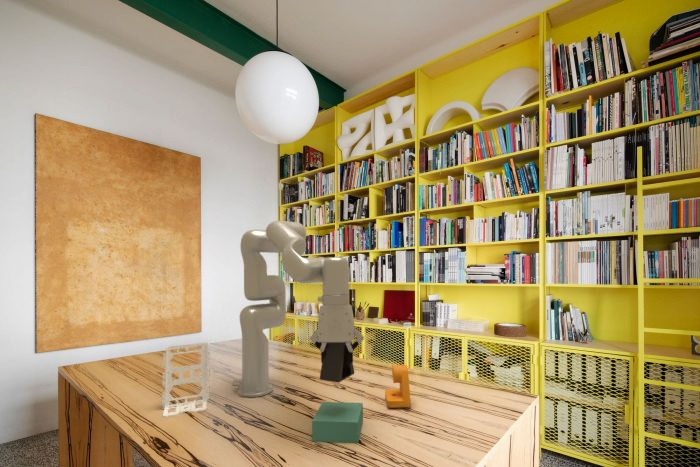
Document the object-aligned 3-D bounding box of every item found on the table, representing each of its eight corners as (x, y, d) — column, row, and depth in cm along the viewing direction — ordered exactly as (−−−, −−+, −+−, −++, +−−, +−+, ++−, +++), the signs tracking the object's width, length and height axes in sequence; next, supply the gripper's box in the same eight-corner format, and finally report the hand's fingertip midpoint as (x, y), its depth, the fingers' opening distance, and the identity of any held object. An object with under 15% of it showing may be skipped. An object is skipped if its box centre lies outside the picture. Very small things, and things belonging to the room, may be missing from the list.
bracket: (385, 397, 119) (383, 361, 120) (406, 397, 119) (404, 361, 120) (387, 410, 108) (386, 370, 110) (410, 409, 108) (409, 370, 109)
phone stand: (338, 383, 91) (337, 336, 93) (319, 379, 94) (318, 334, 96) (354, 373, 99) (353, 330, 100) (336, 371, 102) (336, 329, 103)
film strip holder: (159, 418, 106) (161, 351, 108) (163, 403, 119) (165, 343, 121) (209, 410, 112) (210, 346, 114) (208, 396, 125) (209, 339, 127)
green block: (312, 441, 90) (312, 420, 90) (322, 419, 103) (322, 401, 103) (358, 442, 88) (357, 422, 89) (363, 420, 101) (362, 402, 102)
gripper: (303, 302, 96) (303, 369, 95) (364, 301, 94) (366, 370, 92) (309, 299, 104) (310, 361, 102) (367, 299, 102) (369, 362, 100)
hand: (337, 365), depth 97 cm, fingers closed on phone stand, 6 cm apart
